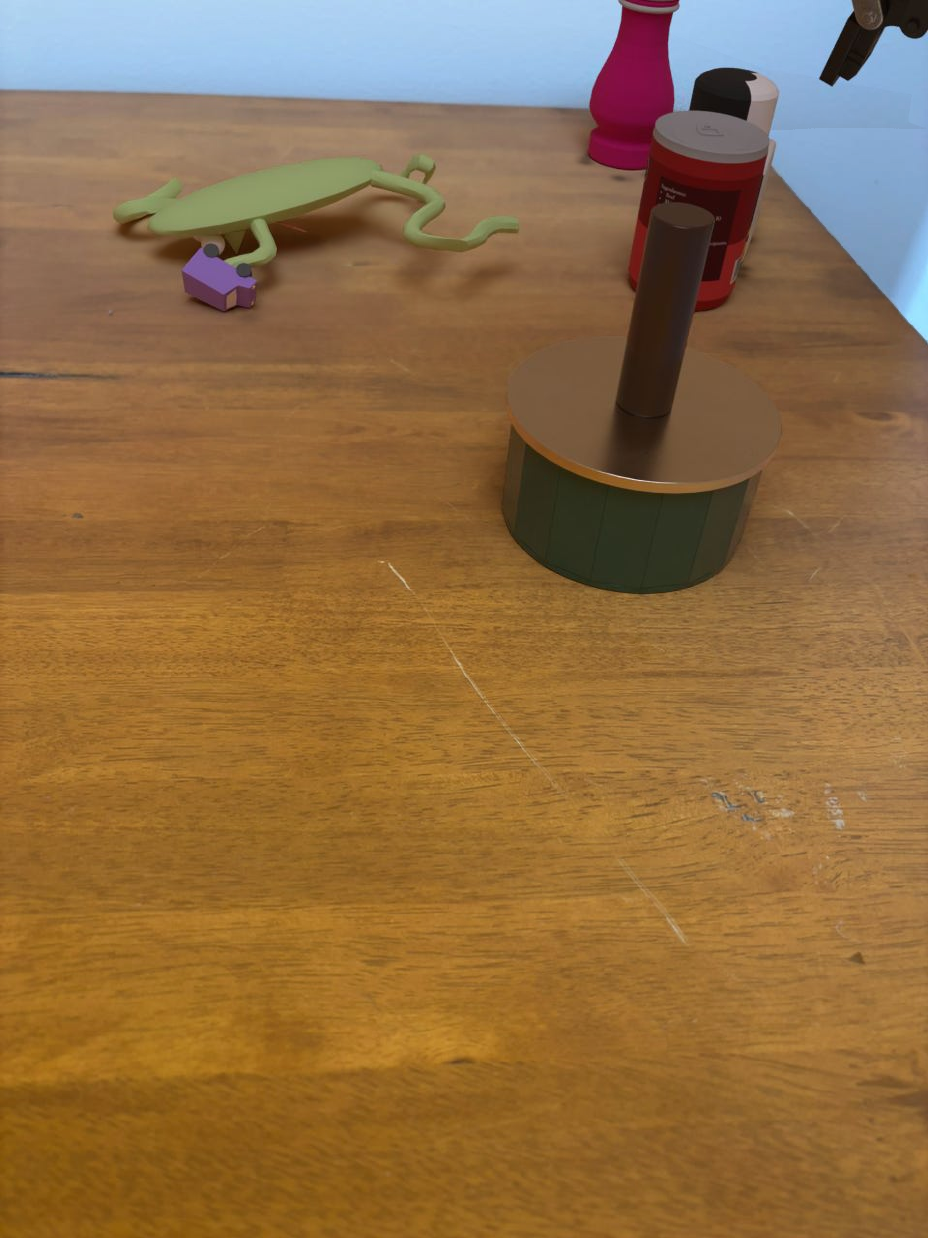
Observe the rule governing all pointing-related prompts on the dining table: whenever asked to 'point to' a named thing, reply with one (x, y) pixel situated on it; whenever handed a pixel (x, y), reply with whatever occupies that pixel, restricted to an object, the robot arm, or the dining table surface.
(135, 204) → the figurine
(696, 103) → the medicine bottle
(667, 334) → the tin lid
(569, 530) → the tin
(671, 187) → the canned food
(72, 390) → the dining table surface
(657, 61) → the pepper mill
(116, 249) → the dining table surface
